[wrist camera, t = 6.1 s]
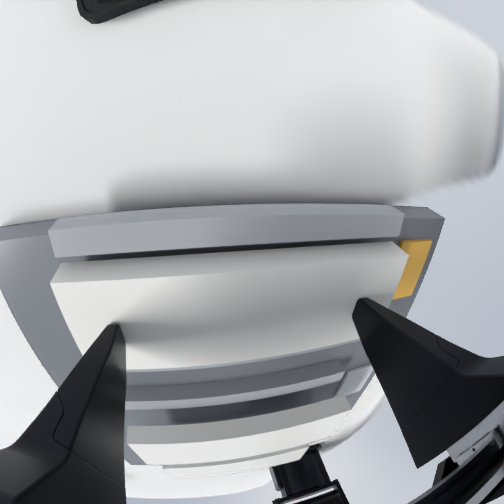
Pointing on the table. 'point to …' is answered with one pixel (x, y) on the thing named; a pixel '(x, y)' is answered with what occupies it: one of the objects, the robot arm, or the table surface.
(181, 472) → the key
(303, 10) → the table surface
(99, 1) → the keyboard
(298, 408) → the key middle
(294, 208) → the switch panel
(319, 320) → the key
